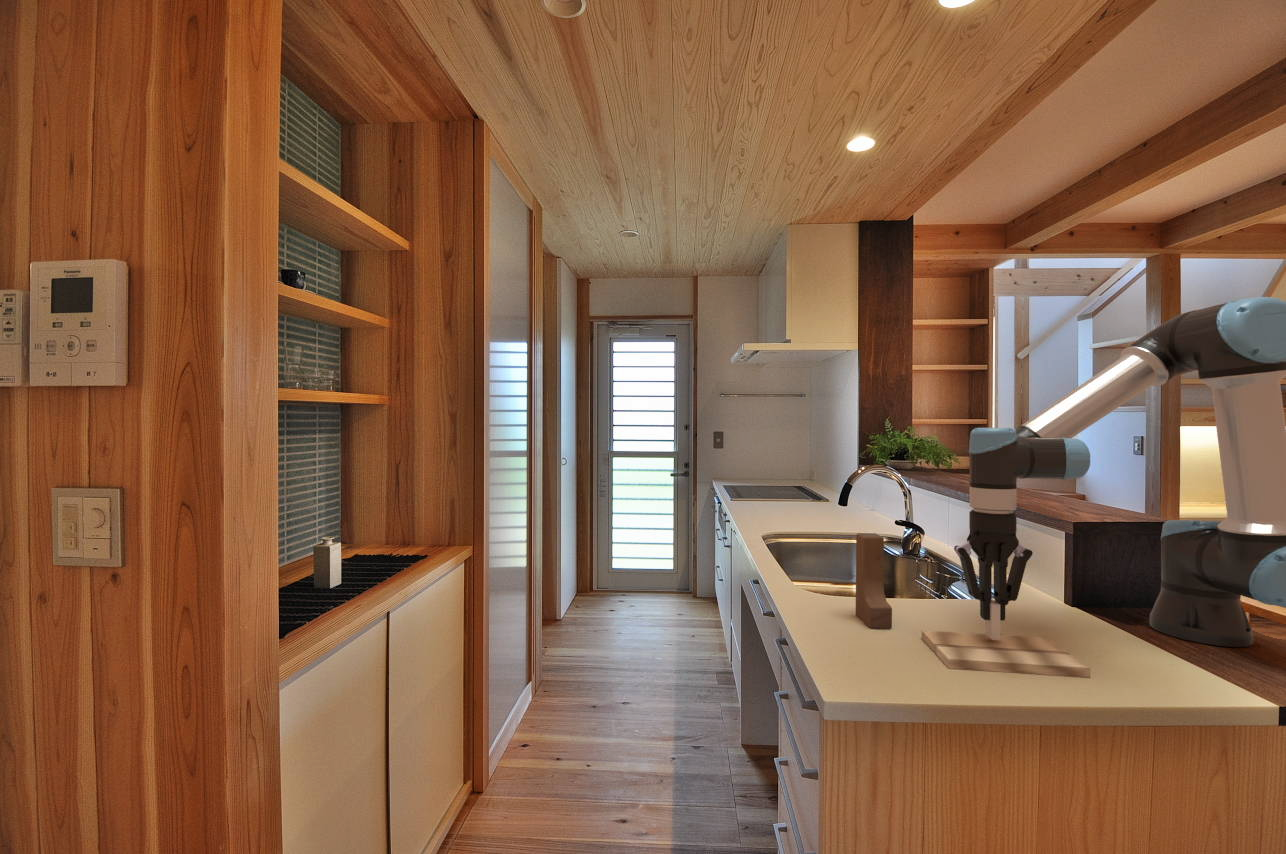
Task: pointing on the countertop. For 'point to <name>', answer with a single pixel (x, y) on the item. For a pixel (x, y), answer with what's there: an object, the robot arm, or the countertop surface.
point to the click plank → (988, 641)
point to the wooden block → (871, 582)
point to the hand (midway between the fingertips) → (992, 637)
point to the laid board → (1011, 660)
